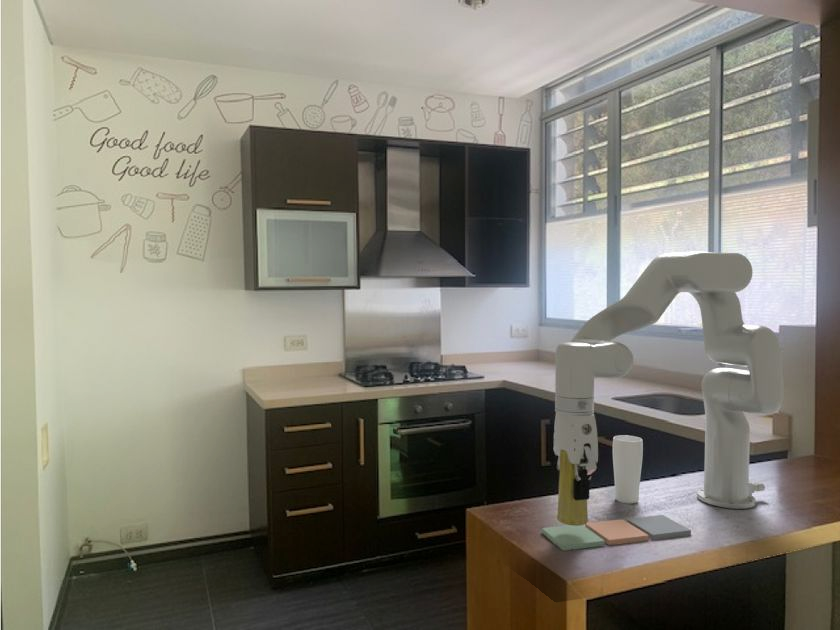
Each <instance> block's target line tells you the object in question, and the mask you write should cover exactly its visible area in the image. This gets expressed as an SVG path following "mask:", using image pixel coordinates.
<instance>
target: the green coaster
mask: <svg viewBox="0 0 840 630" xmlns="http://www.w3.org/2000/svg"><path fill="white" fill-rule="evenodd" d="M541 534H543V535H544V536H545V537H546V538H548V539H549V541H551V542H552V543H553V544H554V545H555V546H557V547H558V548H560V549H561V550H562V551H570V550H571V549H573V550H578V549H579V548H581V549H588V547H589V548H597V547H603V546H605V544H606V543H605V540H603V539H602V538H600V537H599V536H597V535H596V534H595V533H593V532H592V531H590V530H589V529H587V528H586V527H585V525H579V526H573V525H567V524H565V525H559V526H558V525H557V526H550V527H542V528H541ZM579 550H580V549H579ZM571 551H572V550H571Z"/></svg>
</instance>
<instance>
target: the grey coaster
mask: <svg viewBox="0 0 840 630" xmlns="http://www.w3.org/2000/svg"><path fill="white" fill-rule="evenodd" d="M626 522H628V523H629V524H631V525H633V526H634V527H636V528H638V529H639V530H641V531H643V532H644V533H646V534H647V535H649V539H651V540H662V539H670V538H677V537H684V536H685V537H686V536H691V534H692V530H691V529H690V528H687V527H686V526H684V525H682V524H680V523H679V522H677V521H675V520H673V519H671V518H669V517H667V516H665V515H664V514H658V515H657V514H656V515H650V516H640V517H639V516H638V517H631V518H626Z"/></svg>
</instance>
